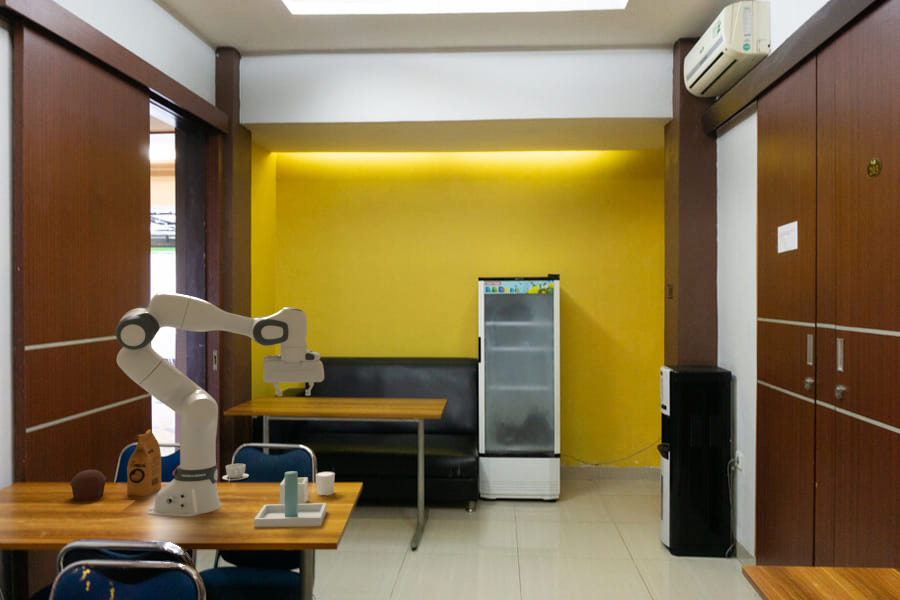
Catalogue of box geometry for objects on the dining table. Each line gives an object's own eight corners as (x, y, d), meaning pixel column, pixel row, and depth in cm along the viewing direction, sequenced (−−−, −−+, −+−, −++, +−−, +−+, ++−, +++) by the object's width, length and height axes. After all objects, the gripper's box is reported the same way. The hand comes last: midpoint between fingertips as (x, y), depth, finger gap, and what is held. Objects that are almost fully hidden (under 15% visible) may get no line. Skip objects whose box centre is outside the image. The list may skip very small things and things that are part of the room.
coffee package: (121, 498, 223) (121, 436, 223) (138, 488, 236) (138, 429, 236) (150, 498, 223) (149, 436, 223) (165, 488, 236) (165, 428, 236)
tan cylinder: (330, 496, 225) (330, 476, 225) (312, 495, 226) (312, 475, 226) (337, 490, 232) (337, 471, 232) (320, 489, 233) (320, 470, 233)
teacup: (221, 475, 253) (221, 464, 253) (248, 473, 257) (248, 461, 257) (222, 482, 244) (222, 470, 244) (249, 479, 247) (249, 467, 247)
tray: (254, 529, 193) (254, 519, 193) (264, 513, 207) (264, 504, 207) (320, 527, 194) (320, 517, 194) (326, 512, 208) (326, 503, 208)
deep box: (279, 508, 212) (279, 484, 212) (284, 500, 220) (284, 477, 220) (304, 507, 213) (304, 484, 213) (307, 500, 221) (307, 477, 221)
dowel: (283, 519, 199) (283, 474, 199) (286, 515, 203) (285, 471, 203) (296, 519, 199) (296, 474, 199) (298, 514, 203) (298, 470, 203)
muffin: (100, 503, 218) (100, 474, 218) (64, 506, 215) (64, 476, 215) (110, 493, 230) (110, 465, 230) (76, 495, 227) (76, 467, 227)
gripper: (260, 356, 213) (260, 397, 213) (322, 355, 214) (322, 396, 214) (264, 354, 219) (265, 394, 219) (324, 353, 220) (325, 393, 220)
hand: (294, 395), depth 217 cm, fingers open, 8 cm apart
